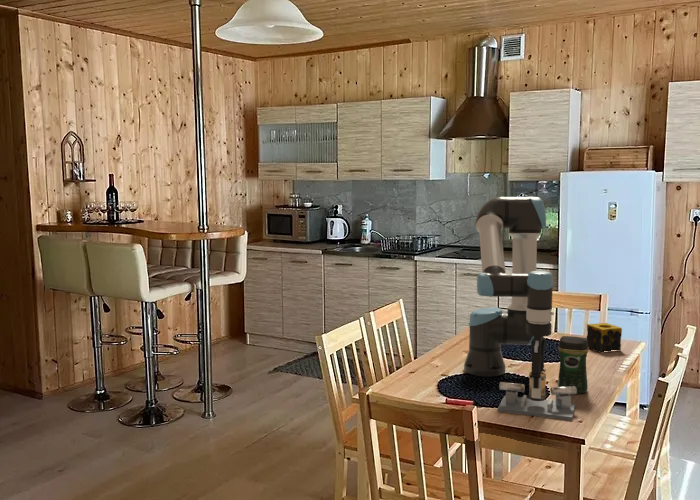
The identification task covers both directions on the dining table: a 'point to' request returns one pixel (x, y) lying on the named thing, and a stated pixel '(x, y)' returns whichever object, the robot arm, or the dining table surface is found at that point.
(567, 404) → the shaft right
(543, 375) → the cylinder
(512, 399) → the shaft left
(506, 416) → the dining table surface
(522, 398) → the grey mounting plate
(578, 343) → the coffee jar
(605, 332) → the candle
